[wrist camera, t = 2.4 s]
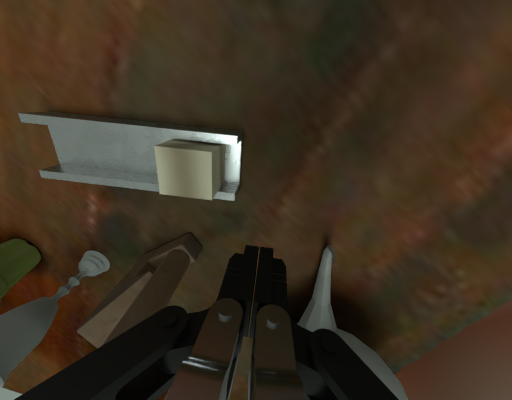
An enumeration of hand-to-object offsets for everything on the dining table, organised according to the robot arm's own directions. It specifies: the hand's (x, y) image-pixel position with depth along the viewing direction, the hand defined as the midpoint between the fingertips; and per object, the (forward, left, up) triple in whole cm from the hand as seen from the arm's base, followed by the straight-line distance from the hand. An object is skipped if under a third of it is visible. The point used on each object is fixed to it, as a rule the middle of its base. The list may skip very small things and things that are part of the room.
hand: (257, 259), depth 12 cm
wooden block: (+17, -15, -19) cm, 30 cm away
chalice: (+22, -30, -19) cm, 42 cm away
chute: (0, -17, -19) cm, 25 cm away
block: (0, -9, -18) cm, 20 cm away
